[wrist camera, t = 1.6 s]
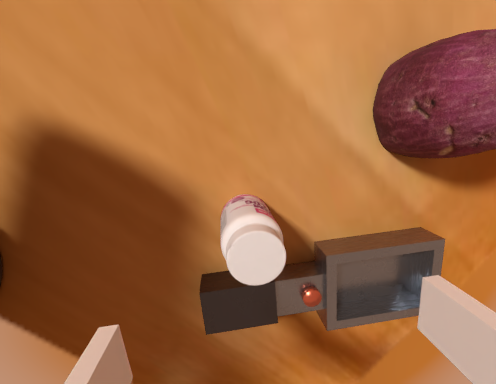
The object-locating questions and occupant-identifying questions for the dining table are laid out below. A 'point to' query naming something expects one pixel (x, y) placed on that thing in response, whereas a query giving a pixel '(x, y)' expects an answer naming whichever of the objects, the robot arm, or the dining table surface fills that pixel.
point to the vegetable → (440, 98)
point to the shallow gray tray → (332, 284)
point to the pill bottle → (251, 241)
